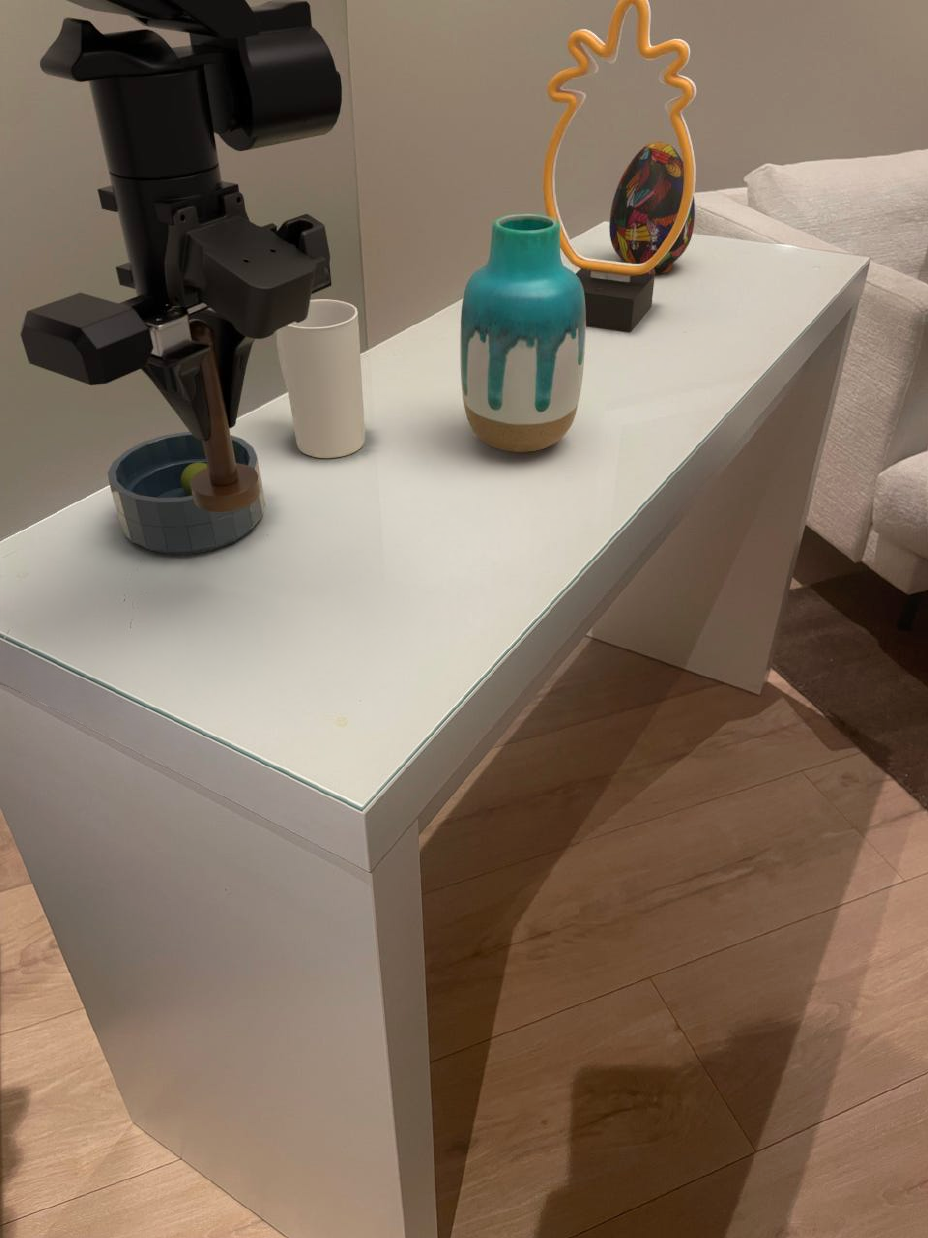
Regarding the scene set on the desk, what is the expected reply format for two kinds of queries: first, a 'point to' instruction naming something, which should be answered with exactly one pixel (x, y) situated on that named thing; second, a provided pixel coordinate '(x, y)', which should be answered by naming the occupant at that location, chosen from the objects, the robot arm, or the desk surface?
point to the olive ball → (190, 475)
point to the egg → (650, 208)
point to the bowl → (175, 497)
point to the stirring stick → (219, 443)
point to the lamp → (623, 287)
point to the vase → (522, 338)
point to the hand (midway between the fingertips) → (214, 432)
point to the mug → (324, 379)
